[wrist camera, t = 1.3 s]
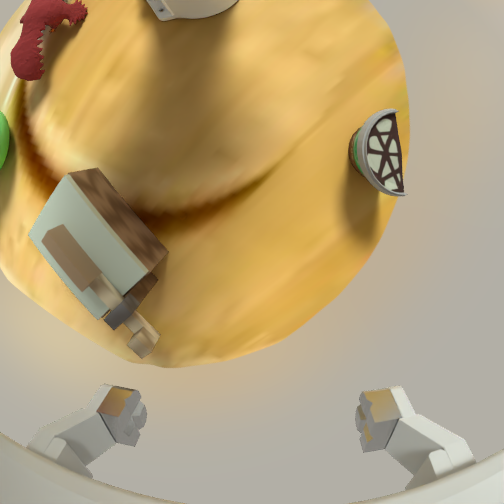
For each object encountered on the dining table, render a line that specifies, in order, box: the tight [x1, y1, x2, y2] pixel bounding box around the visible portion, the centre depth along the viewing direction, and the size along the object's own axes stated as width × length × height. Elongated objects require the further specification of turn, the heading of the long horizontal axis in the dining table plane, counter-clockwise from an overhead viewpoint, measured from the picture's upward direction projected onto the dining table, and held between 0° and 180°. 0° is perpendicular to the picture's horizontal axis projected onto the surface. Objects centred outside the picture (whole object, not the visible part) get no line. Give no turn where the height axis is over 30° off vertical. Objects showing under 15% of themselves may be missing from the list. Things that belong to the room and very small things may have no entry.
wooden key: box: [89, 273, 161, 359], centre depth 38 cm, size 13×2×4 cm, turn 40°
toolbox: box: [67, 168, 169, 330], centre depth 42 cm, size 22×14×13 cm, turn 40°
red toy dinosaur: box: [11, 0, 88, 81], centre depth 29 cm, size 28×9×15 cm
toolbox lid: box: [28, 174, 149, 320], centre depth 37 cm, size 19×14×6 cm
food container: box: [349, 109, 407, 196], centre depth 37 cm, size 12×6×10 cm, turn 9°
